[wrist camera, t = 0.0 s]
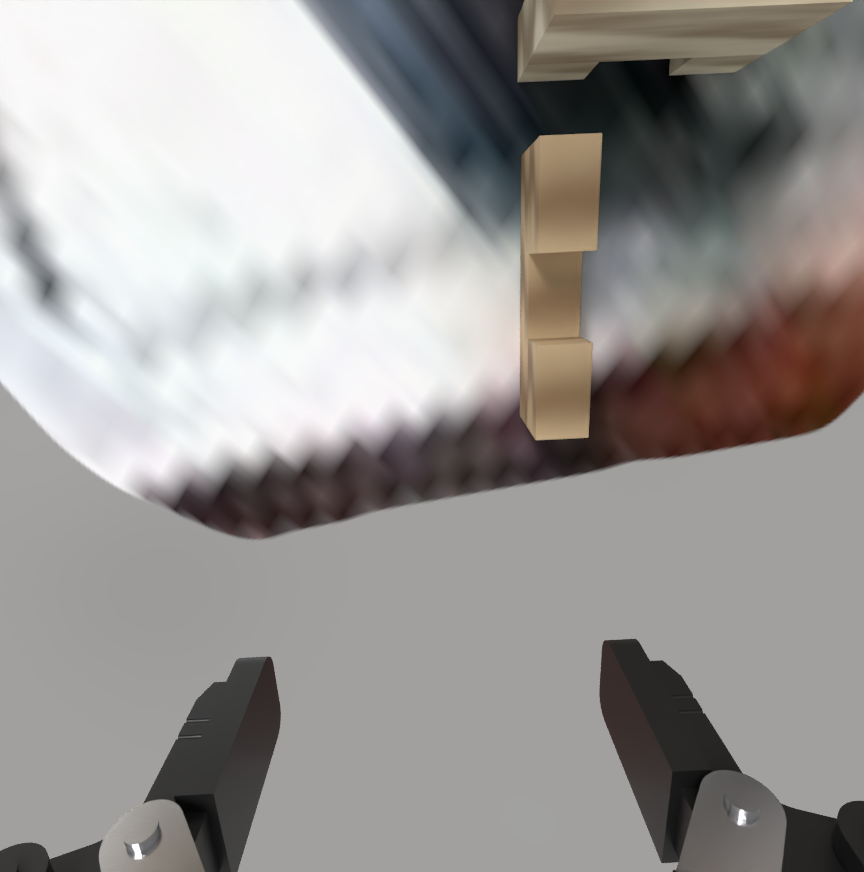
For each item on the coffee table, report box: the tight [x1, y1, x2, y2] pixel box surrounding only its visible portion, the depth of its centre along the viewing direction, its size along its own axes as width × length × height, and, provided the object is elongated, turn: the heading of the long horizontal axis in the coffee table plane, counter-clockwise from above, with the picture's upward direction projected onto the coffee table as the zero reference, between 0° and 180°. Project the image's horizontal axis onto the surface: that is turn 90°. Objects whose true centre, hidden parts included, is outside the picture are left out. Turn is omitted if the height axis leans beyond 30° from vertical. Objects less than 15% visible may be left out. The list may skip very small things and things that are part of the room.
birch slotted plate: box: [518, 0, 853, 82], centre depth 30 cm, size 4×14×10 cm, turn 93°
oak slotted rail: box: [520, 133, 602, 440], centre depth 36 cm, size 18×4×6 cm, turn 3°
